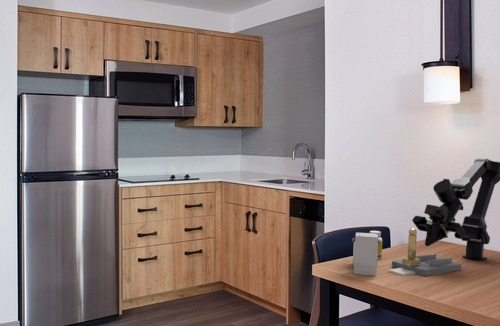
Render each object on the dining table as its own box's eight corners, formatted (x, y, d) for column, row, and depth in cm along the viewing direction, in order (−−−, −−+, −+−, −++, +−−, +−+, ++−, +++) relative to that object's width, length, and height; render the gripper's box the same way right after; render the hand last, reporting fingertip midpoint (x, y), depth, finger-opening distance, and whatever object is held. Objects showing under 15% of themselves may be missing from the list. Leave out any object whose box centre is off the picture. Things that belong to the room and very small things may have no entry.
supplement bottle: (383, 257, 204) (384, 231, 203) (380, 260, 199) (381, 233, 198) (368, 255, 206) (369, 229, 206) (365, 258, 201) (366, 231, 201)
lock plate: (427, 261, 199) (428, 251, 199) (460, 269, 188) (461, 259, 188) (391, 266, 189) (392, 256, 189) (424, 276, 177) (425, 265, 177)
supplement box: (376, 276, 176) (378, 237, 175) (353, 274, 177) (355, 235, 177) (376, 270, 183) (377, 233, 183) (353, 268, 185) (355, 231, 184)
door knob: (412, 262, 187) (414, 227, 186) (419, 264, 184) (421, 228, 183) (402, 264, 184) (404, 228, 183) (409, 266, 181) (411, 229, 180)
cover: (400, 271, 186) (400, 267, 185) (414, 275, 181) (415, 271, 181) (388, 273, 182) (388, 269, 182) (402, 277, 177) (403, 274, 177)
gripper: (416, 193, 197) (394, 226, 192) (461, 199, 182) (438, 235, 176) (429, 213, 202) (408, 245, 197) (474, 221, 187) (453, 256, 181)
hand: (426, 245), depth 188 cm, fingers closed
